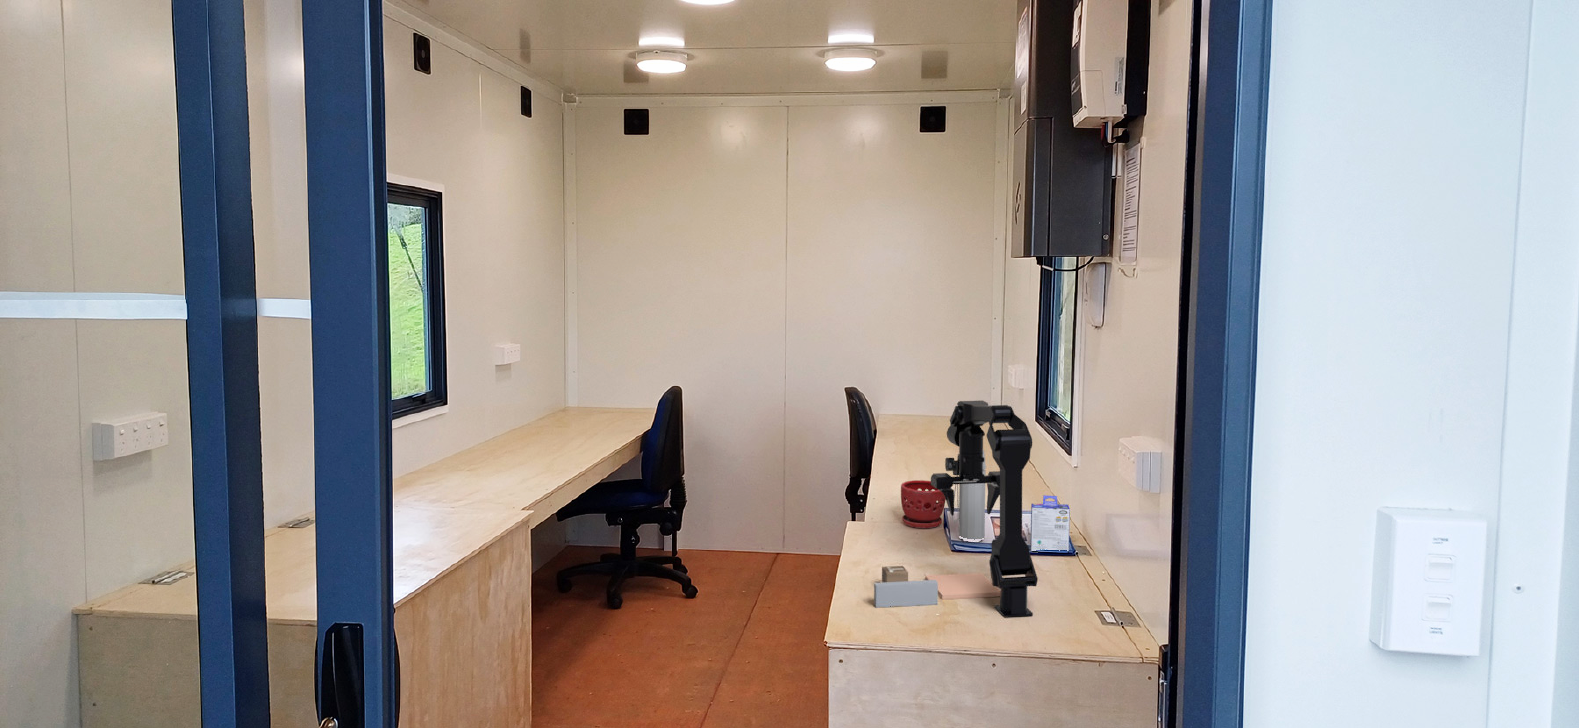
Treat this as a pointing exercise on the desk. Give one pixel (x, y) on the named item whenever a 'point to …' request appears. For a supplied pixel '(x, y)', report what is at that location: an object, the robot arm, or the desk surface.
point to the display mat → (964, 586)
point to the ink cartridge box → (1050, 525)
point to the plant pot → (921, 504)
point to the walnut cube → (894, 574)
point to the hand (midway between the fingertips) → (970, 514)
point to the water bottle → (971, 509)
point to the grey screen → (906, 593)
